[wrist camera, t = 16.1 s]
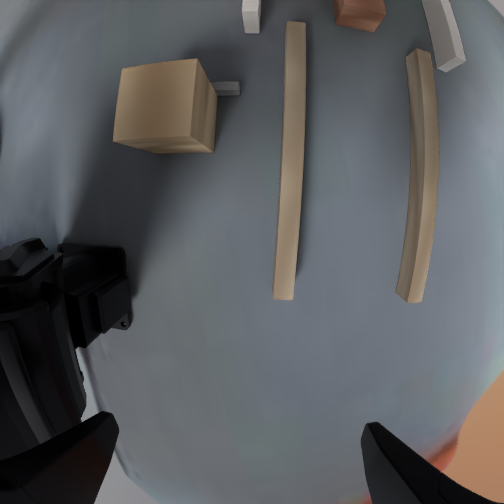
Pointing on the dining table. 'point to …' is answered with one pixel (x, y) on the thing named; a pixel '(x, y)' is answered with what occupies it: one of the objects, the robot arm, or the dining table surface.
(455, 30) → the tray
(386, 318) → the dining table surface
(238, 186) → the dining table surface
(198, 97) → the scraper
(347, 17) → the brown cube
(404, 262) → the channel
